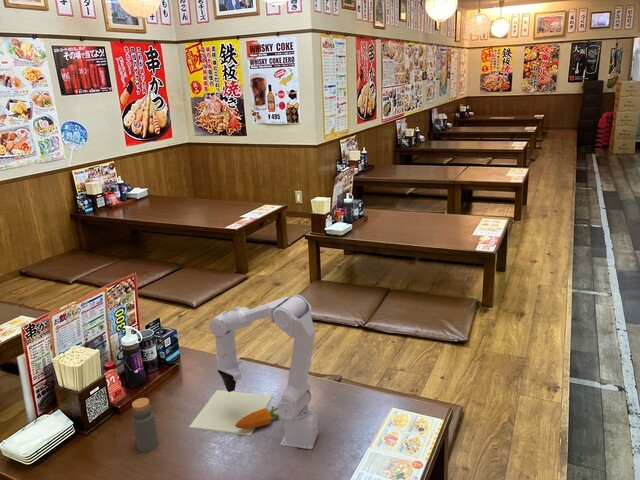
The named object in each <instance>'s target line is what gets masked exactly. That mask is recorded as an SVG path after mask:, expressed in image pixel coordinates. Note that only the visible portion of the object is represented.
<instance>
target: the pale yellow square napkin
mask: <svg viewBox="0 0 640 480" xmlns="http://www.w3.org/2000/svg"><path fill="white" fill-rule="evenodd" d="M272 399H273V395H269V394H261V393H260V394H259V393H250V392H249V393H248V392H242V391H241V392H239V391H231V392H228V391H227V390H223V389H222V390H220V389H217V390H215V392H214V393H213V395H212V396H211V397H210V399H209V400H208V401H207V403H206V404H205V405H204V406H203V408H202V409H201V410H200V412H199V413H198V414H197V416H196V417H195V418H194V420H193V421H192V422H191V424H190V425H189V426H188V427H189V428H190V429H197V430H202V431H209V432H210V431H211V432H217V433H225V434H232V435H239V436H249V437H251V436H252V434H253V433H254V431H255V429H256V428H249V429H241V428H237V427H235V425H236V423H237V422H238V421H239V420H241V419H242V418H243V417H245V416H247V415H249V414H251V413H253V412H256V411H258V410H261V409H264V408H267V409H268V406H269V404H270V402H271V401H272Z"/></svg>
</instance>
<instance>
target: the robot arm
mask: <svg viewBox="0 0 640 480" xmlns="http://www.w3.org/2000/svg"><path fill="white" fill-rule="evenodd" d="M311 313H312V306H311V304H310V303H309V302H308V300H307V299H306V298H305V297H304V296H303V295H300V294H294V295H292V296H284V297H281V298H278V299H275V300H272V301H270V302H268V303H264V304H262V305H258V306H256V307H253V308H248V307H246V306H243V307H241V306H240V305H238V306H235V307H234V309H233V310H230V311H228V310H225V311H223V312H221V313H219V314H218V315H216V316H215V317H213V318H212V319H211V320H210V321H209V330H210V333H212V334H213V335H214V340H215V348H216V355H215V357H216V358H215V359H216V362H217V368H218V370H217V372H218V373H219V376H220V377H221V378H222V380H223V384H224V386H225V389H226V391H228V392H231V391H232V392H235V390H236V384H237V381H240V380H241V379H242V374H241V371H240V367H239V365H240V364H241V363H242V361H241V359H240V358H238V356H237V348H236V338H235V337H236V336H235V334H236V331H237V330H242V329H244V328H249V327H250V326H251V325H252V323H253V322H255V321H259V320H263V319H268V318H269V319H270V320H269V321H270V322H271V323H272V324H274V323H275V325H276V326H277V327H278V328H279V329H280V330H282V331H283V332H284V333H285V334H286V335H288V336H289V337H290V339H294V340H293V347H292V353H291V360H290V365H289V372H288V381H287V385H286V387H285V389H284V390H283V393H282V396H281V399H280V401H279V402H278V403H277V407H276V408H278V410H277V411H278V414H279V416H281V417H282V418H283V427H284V429H283V430H284V435H283V437H282V439H281V442H280V445H281V446H285V447H294V448H297V449H298V448H300V449H306V450H313V448H314V446H315V443H316V441H317V437H318V436H319V435H318V434H319V432H320V431H319V429H318V428H319V427H318V426H319V425H318V415H317V413H316V412H313V411H310V410H309V409H308V408H309V403H310V402H311V400H312V392H311V384H310V383H308V377H309V373H310V368H311V361H312V355H313V349H314V344H315V343H314V342H315V339H316V330H315V326H314V321H313V318H312V314H311Z"/></svg>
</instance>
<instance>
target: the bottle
mask: <svg viewBox="0 0 640 480" xmlns="http://www.w3.org/2000/svg"><path fill="white" fill-rule="evenodd" d="M131 406H132V409H131V412H132V418H131V419H132V424H133V429H134V437H135V441H136V443H135V444H136V447H137V450H138V451H139V452H140V453H149V452H152V451H154V450H155V449H157V448H158V446H159V438H158V432H157V426H156V421H155V415H154V412H153V410H152V405H151V404H150V400H149V398H147V397H140V398H137V399H135V400H134V401H132V403H131Z"/></svg>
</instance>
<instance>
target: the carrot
mask: <svg viewBox="0 0 640 480" xmlns="http://www.w3.org/2000/svg"><path fill="white" fill-rule="evenodd" d="M276 411H278V408H277V407H276V408H275V407H274V405H273V406H272V405H271V410H269V409H268V407H267V408H264V409H261V410H258V411H256V412H253V413H251V414H249V415H247V416H245V417H243V418H242V419H241V420H239V421H238V422H237V423H236V425H235V427H237V428H241V429H249V428H255V429H256V428H258V427H259V428H260V427H261V426H262V427H263V426H265V425H268V424H270V423H271V422H272V418H278V417H280V413H275V412H276Z"/></svg>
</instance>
